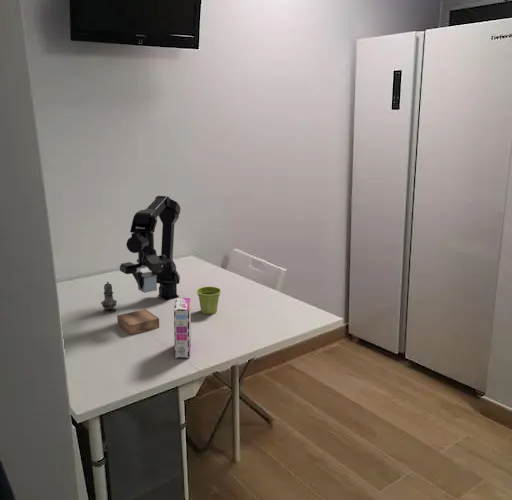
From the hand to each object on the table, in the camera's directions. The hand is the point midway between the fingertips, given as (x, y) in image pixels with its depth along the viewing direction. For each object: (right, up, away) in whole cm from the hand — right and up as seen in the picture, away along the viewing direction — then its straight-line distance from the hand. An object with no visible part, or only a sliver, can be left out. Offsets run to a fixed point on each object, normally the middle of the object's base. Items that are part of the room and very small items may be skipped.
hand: (147, 287), depth 194 cm
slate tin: (0, -1, 0) cm, 1 cm away
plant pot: (+22, -10, +8) cm, 26 cm away
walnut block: (-2, -14, -6) cm, 15 cm away
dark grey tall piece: (-16, -10, +8) cm, 20 cm away
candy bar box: (+17, -19, -25) cm, 35 cm away
